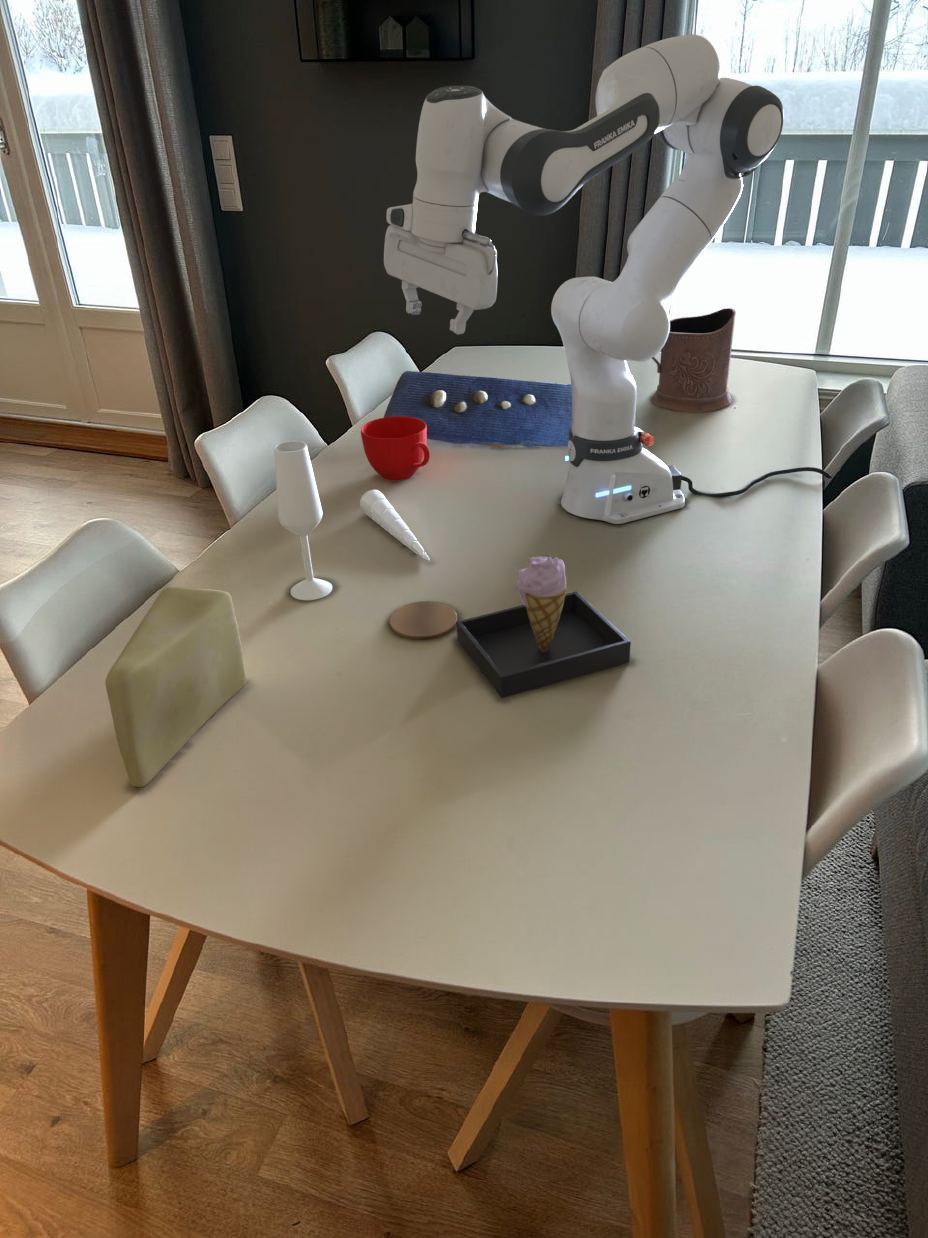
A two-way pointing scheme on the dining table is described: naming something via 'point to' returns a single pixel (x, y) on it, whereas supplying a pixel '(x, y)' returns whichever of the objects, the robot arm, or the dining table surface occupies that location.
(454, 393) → the mat
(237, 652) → the cheese
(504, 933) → the dining table surface
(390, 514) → the unicorn horn
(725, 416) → the dining table surface
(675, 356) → the cup holder
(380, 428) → the ceramic cup
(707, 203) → the robot arm
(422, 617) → the coaster
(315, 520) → the champagne flute
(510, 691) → the tray
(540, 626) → the ice cream cone
